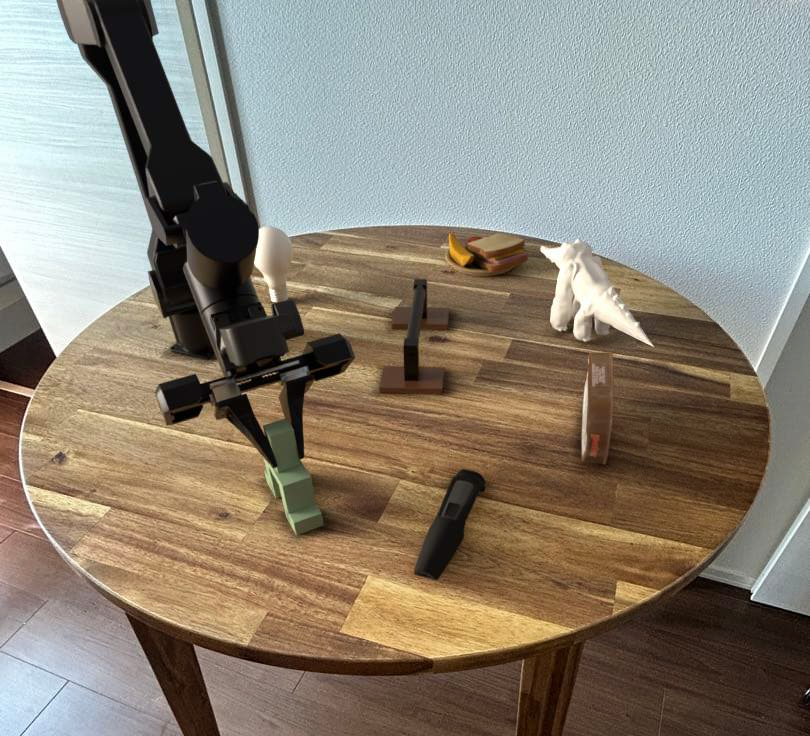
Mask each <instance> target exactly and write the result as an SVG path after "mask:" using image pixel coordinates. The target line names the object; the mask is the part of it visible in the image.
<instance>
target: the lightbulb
mask: <svg viewBox="0 0 810 736" xmlns="http://www.w3.org/2000/svg"><path fill="white" fill-rule="evenodd" d="M293 257H294V247H293V243H292V241H291V239H290V237H289V236H288V235H287V233H286V232H285V231H284V230H282V229H280V228H278V227H276V226H270V225H268V226H267V225H266V226H263V227H259V239H258V245H257V250H256V256H255V261H254V267H255V268H256V269H257V270H258V271H259V272H260V273H261V274H262V276H263V278H264V281H265V283H266V285H267V287H268V290H269V295H270V300H271V301H272V302H273V303H278V302H282V301H286V300H289V293H288V288H287V280H288V270H289V268H290V266H291V264H292V262H293Z"/></svg>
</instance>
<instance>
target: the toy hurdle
mask: <svg viewBox="0 0 810 736" xmlns="http://www.w3.org/2000/svg"><path fill="white" fill-rule="evenodd" d="M412 287H413V294H412V295H413V296H412V301H411V306H394V310H393V315H392V319H391V320H392V321H391V329H392V330H393V329H394V330H407V332H406V337H405V338H404V339H403V344H402V347H403V348H402V349H403V366H400V365H399V366H398V365H383V366H382V370H381V375H380V380H379V386H378V392H379V393H382V394H383V393H384V394H388V393H389V394H421V395H422V394H426V395H428V394H429V395H442V394H443V388H444V387H443V386H444V375H445V367H444V366H420V336H421V335H420V334H421V330H448V328H449V318H450V317H449V315H450V308H449V307H433V306H432V307H431V306H430V307H429V306H428V279H427V278H414V279H413V286H412Z"/></svg>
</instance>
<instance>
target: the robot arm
mask: <svg viewBox="0 0 810 736" xmlns="http://www.w3.org/2000/svg"><path fill="white" fill-rule="evenodd" d="M55 1H56V5H57V9H58V12H59V15H60V17H61V20H62V23H63V26H64V30H65V31H66V34H67V37H68V38H69V40H70V41H71V42H72V43H73V44H74V45H77V48H78V51H79V54H80V56H81V58H82V60H84V62H85V63H86V64H87V65H88V67H90V69H91V70H92V71H93V72H94V73H95V74H96V75H97V77H98V78H99V79H100V80H101V81H102V82H103V83H104V85H105V86H106V88H107V91H108V95H109V98H110V101H111V104H112V107H113V110H114V114H115V117H116V120H117V123H118V126H119V129H120V132H121V135H122V139H123V141H124V145H125V148H126V150H127V154H128V157H129V160H130V163H131V166H132V170H133V173H134V176H135V179H136V182H137V185H138V189H139V191H140V195H141V198H142V201H143V204H144V208H145V211H146V213H147V217H148V220H149V224H150V226H151V234H150V237H149V243H148V247H147V251H146V255H147V258H148V261H149V264H150V268H151V270H148V271H147V274H148V281H149V286H150V291H151V294H152V296H153V299H154V302H155V304H156V306H157V309H158V310H159V312H160V314H161V316H162V318H163V319H167V318H168V320H169V323H170V326H171V330H172V332H173V335H174V338H175V341H176V343H174V344H173V345H171V347H169V350H170V352H171V353H173V354H177V355H181V356H187V357H192V358H197V359H200V360H201V359H202V360H206V361H207V360H210V359H212V358H213V357H214V356H215V357H216V360H217V362H218V365H219V368H220V371H221V373H222V375H223V376H222V377H220V378H216V379H212V380H209V381H205V382H202V383H201V381H200V379H199V378H198V375H197V373H193V374H189V375H185V376H183V377H178V378H175V379H172V380H168V381H163V382H161V383H158V385H157V387H156V389H155V392H154V395H155V399H156V402H157V405H158V407H159V410H160V412H161V416H162V418H163V420H164V423H165V425H166V426H173V425H176V424H177V425H178V424H180V423H184V422H187V421H190V420H194V419H197V418H199V417H200V415H201V412H202V411H203V408H204V405H207V404H209V405H210V407H211V408H212V407H213V408H214V418H215V420H216V421H220V420H225V419H226V420H227V421H228V422H229V423H230V424H231V425H233V426H234V428H236V429H237V430H238V432H240V433H241V434H242V435H243V436H244V437H246V439H247V440H248V441H249V442H250V443H251V444H252V446H253V447H254V448H255V449H256V450H257V451H258V452H259V454H260V455H261V456H262V458H263V457H264V458H265V460H266V461H267V462H268V463H269V464H270V465H271V467H272V468H273V469H274V468H277V467H278V465H277V462H276V459H275V456H274V453H273V451H272V449H271V447H270V445H269V443H268V441H267V439H266V437H265V433H264V430H263V428H262V427H261V425H260V423H259V421H258V419H257V416H256V415H255V412H254V410H253V407H252V405H251V402H250V399H249V397H248V394H247V392H251V391H254V390H255V391H256V390H258V389H261V388H264V387H269V386H271V385H274V384H278V385H279V388H280V389H281V391H280V393H279V395H278V401H279V405H280V407H281V410H282V413H283V416H284V419H285V418H287V420H288V421H289V423H290V424H291V426H292V428H293V429H294V434H295V439H296V444H297V451H298V456H299V459H300V460H301V461H302V460H304V459H305V440H304V439H305V437H304V422H303V421H304V420H303V419H304V417H303V415H304V413H303V412H304V400H305V394H307V393H308V392H309V391H310V388H311V387H312V385H313V384H314V382H319V381H323V380H326V379H330V378H333V377H337V376H339V375H342V374H343V373H345V372H346V371H347V369H348V368H349V367H350V366H351V364H352V363H353V362H354V361H355V359H356V355H355V352H354V349H353V347H352V344H351V342H350V340H349V339H348V338H347V337H346V336H344V335H343V334H341V333H336V334H332V335H328V336H325V337H321V338H318V339H313V340H311V341H308V342H306V345H305V347H304V349H303V351H302V352H301V354H299V355H297V356H292V357H289V358H286V359H283V360H282V358H281V357H284V356H285V355H286V354H288V353H289V352H290V348H289V345H288V342H287V341H288V340H294V339H296V338H299V337H303V336H305V327H304V324H303V320H302V317H301V314H300V312H299V309H298V306H297V305H296V302H295V299H294V298H292V299H287V300H285V301H282V302H278V303H277V302H273V303H272V304H271V305H270V309H271V310H270V311H271V314H270V315H268V314H267V312H266V310H265V307H264V306H263V304H262V301H260V299H259V296H258V294H257V291H256V288H255V285H254V284H253V283H254V282H253V281H252V278H251V276H252V274H253V271H254V267H255V265H254V261H255V256H256V250H257V245H258V239H259V229H260V227H259V224H258V220H257V217H256V216H255V214H254V213H253V212H252V211H251V210H250V206H249V205H248V203H247V202H245V201H244V200H243V199H242V198H241V197H240V196H239V195H238V193H236V192H235V191H234V190H233V188H232V187H231V186H230V184H229V183H228V181H223V179H222V177H221V174H220V172H219V170H218V167H217V165H216V163H215V161H214V158H213V157H212V155H211V154H209V153H208V152H207V151H206V150H205V149H204V148H202V147H201V146H199V145H198V144H197V143H195V142H194V141H193V140H192V138H191V135H190V133H189V131H188V128H187V126H186V123H185V121H184V118H183V115H182V113H181V111H180V108H179V104H178V103H177V99H176V97H175V94H174V92H173V89H172V87H171V83H170V81H169V79H168V76H167V74H166V71H165V69H164V66H163V64H162V60H161V58H160V55H159V54H158V53H159V52H158V50H157V48H156V45H155V43H154V37H155V36H157V35H159V34H160V32H159V28H158V23H157V19H156V16H155V13H154V8H153V4H152V0H55ZM264 458H263V459H264Z"/></svg>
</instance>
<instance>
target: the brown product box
mask: <svg viewBox="0 0 810 736" xmlns="http://www.w3.org/2000/svg"><path fill="white" fill-rule="evenodd" d="M587 365H588V368H587V375H586V380H585V383H584V387H583V396H582V398H583V399H582V411H581V412H582V413H581V433H580V460H581V462H583V463H587V464H588V463H589V464H601V465H606V464H607V461H608V457H609V452H610V446H611V439H612V438H611V437H612V429H613V421H614V406H615V405H614V404H615V386H614V385H615V383H614V381H615V380H614V352H613V351H609V352H603V351H602V352H599V351H598V352H597V351H596V352H590V353H588V355H587Z"/></svg>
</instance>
